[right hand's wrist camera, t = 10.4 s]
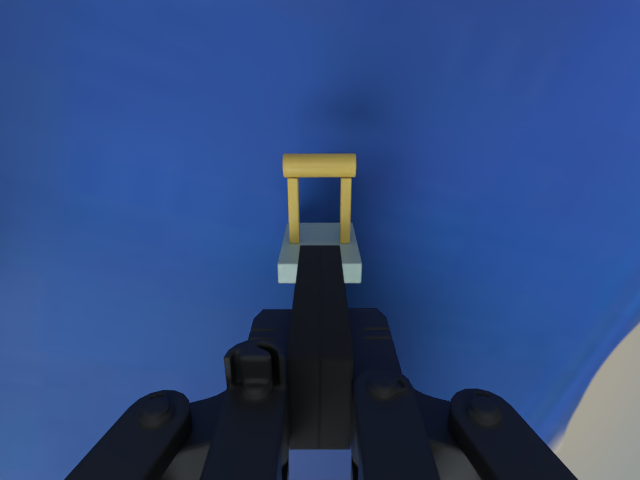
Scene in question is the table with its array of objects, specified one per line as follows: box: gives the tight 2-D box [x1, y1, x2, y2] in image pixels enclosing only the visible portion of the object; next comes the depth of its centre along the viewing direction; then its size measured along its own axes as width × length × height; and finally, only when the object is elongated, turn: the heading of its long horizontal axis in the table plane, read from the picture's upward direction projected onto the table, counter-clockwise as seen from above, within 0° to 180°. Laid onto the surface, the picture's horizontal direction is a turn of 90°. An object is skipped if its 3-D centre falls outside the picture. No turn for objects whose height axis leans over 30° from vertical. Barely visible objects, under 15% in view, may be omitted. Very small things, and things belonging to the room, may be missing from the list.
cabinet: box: [289, 445, 351, 480], centre depth 31 cm, size 19×6×8 cm, turn 0°
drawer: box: [277, 153, 362, 283], centre depth 26 cm, size 23×4×7 cm, turn 0°
